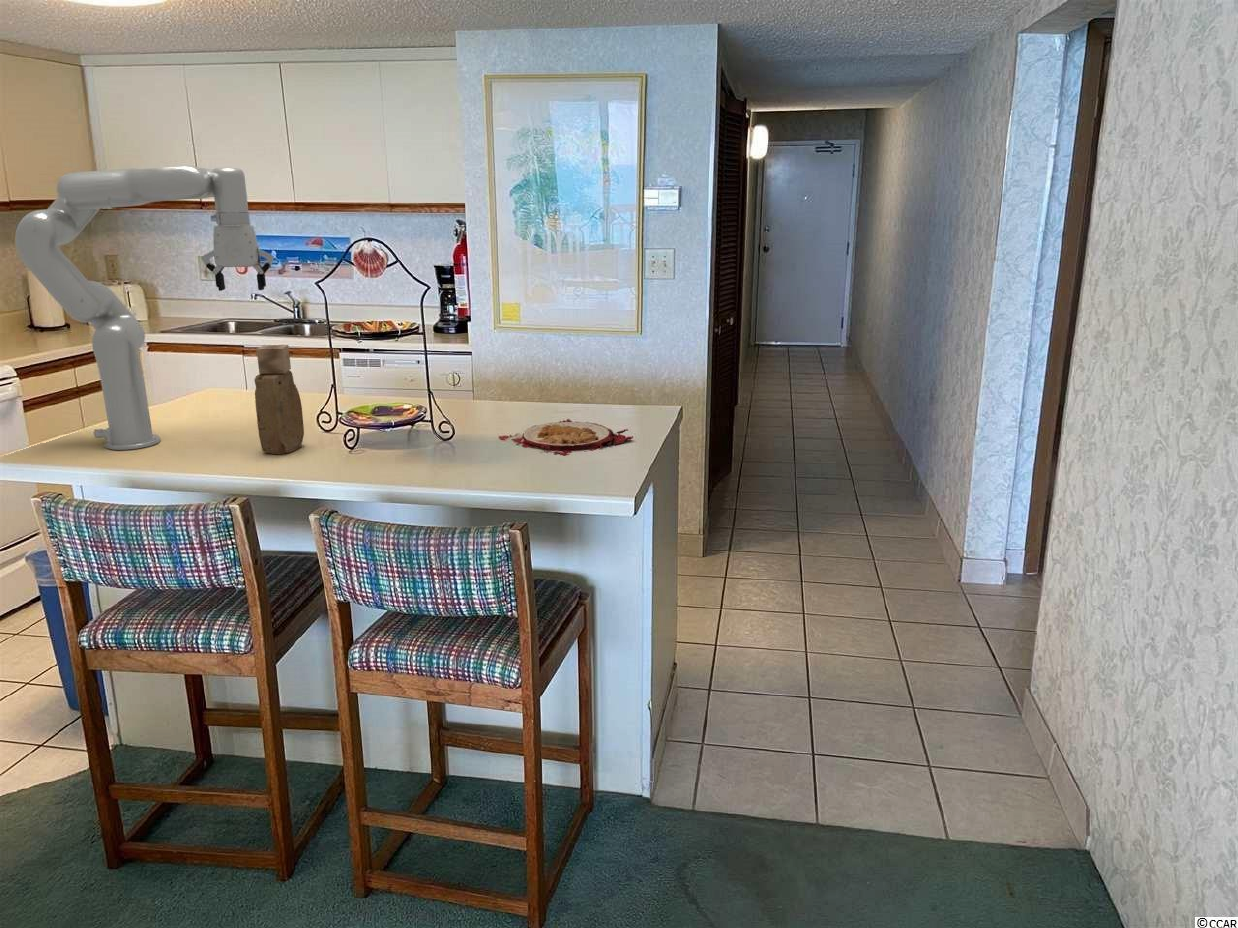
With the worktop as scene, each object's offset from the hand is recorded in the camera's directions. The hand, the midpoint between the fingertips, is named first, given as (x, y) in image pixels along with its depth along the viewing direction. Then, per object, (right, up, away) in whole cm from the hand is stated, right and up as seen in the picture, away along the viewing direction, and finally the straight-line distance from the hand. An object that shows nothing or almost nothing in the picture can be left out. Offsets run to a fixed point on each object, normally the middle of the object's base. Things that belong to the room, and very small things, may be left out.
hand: (241, 290), depth 225 cm
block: (+12, -41, -2) cm, 43 cm away
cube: (+12, -22, -8) cm, 26 cm away
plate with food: (+82, -39, +7) cm, 91 cm away
